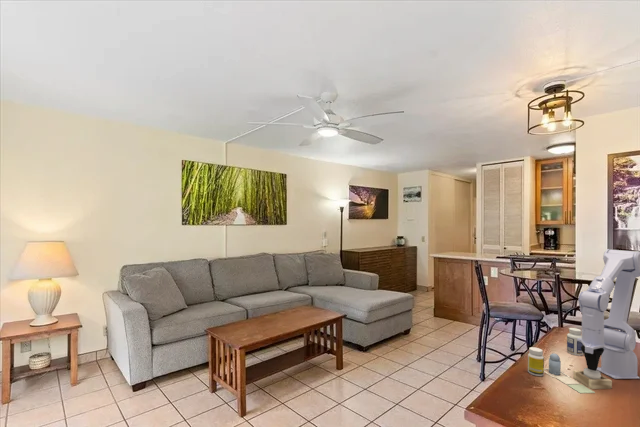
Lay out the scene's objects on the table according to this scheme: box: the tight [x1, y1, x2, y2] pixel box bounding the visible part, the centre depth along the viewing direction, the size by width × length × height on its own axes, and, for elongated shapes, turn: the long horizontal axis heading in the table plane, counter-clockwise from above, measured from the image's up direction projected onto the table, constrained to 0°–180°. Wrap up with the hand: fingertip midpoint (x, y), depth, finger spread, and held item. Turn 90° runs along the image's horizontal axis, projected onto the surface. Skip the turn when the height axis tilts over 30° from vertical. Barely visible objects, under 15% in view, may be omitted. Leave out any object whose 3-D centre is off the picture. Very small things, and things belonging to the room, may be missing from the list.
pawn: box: [548, 353, 562, 376], centre depth 118 cm, size 3×3×7 cm
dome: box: [583, 367, 602, 379], centre depth 111 cm, size 4×4×3 cm
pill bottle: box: [566, 327, 584, 356], centre depth 136 cm, size 5×5×10 cm
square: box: [555, 376, 581, 385], centre depth 112 cm, size 5×5×1 cm
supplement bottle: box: [527, 346, 545, 377], centre depth 117 cm, size 5×5×8 cm
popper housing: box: [572, 370, 613, 390], centre depth 111 cm, size 7×7×3 cm
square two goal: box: [567, 383, 596, 394], centre depth 107 cm, size 5×5×1 cm
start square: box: [544, 367, 571, 379], centre depth 118 cm, size 6×6×1 cm
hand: (592, 369), depth 111 cm, fingers closed
